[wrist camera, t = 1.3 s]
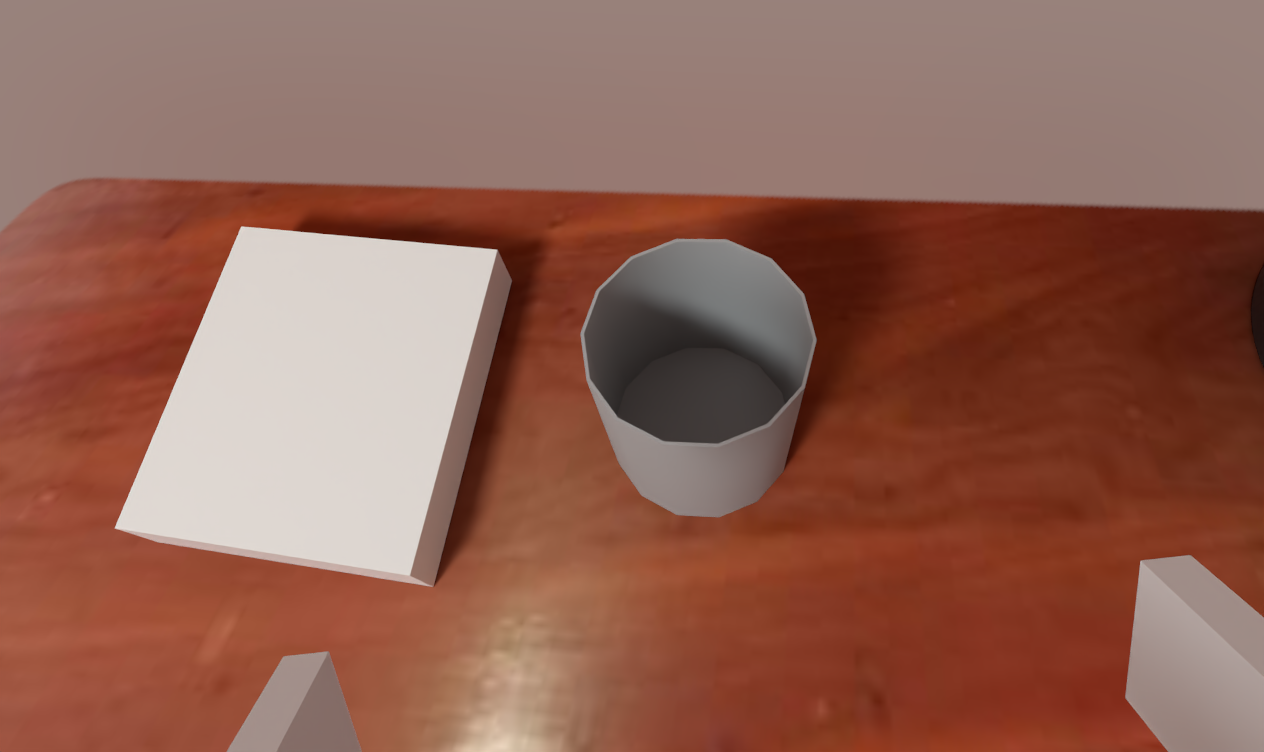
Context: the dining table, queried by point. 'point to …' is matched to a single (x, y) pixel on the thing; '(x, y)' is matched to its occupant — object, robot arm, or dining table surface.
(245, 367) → the raised board
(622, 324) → the cup
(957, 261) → the dining table surface
